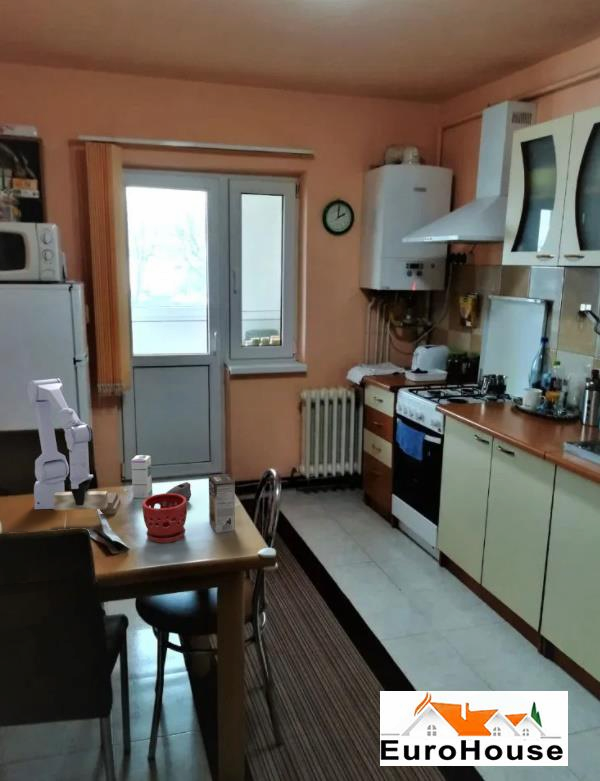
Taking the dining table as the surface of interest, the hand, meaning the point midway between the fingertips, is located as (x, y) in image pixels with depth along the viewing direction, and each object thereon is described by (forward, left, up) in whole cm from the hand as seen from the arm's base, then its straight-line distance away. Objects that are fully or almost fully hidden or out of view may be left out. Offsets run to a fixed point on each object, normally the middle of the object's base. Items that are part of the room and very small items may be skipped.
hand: (81, 503), depth 198 cm
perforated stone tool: (+29, +12, -7) cm, 32 cm away
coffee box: (+45, -8, -7) cm, 46 cm away
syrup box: (+16, +24, -7) cm, 30 cm away
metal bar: (0, 0, -2) cm, 2 cm away
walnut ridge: (+7, +11, -6) cm, 14 cm away
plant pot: (+28, -15, -7) cm, 33 cm away
